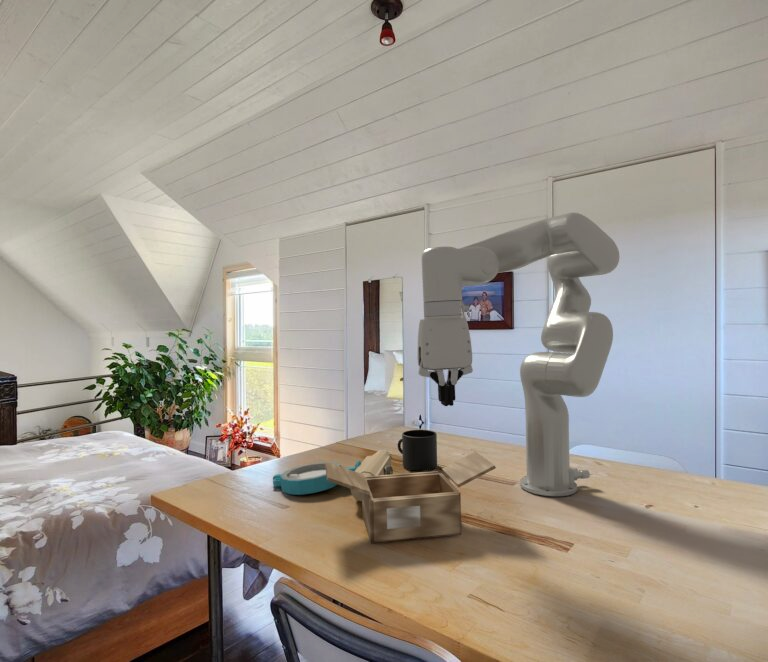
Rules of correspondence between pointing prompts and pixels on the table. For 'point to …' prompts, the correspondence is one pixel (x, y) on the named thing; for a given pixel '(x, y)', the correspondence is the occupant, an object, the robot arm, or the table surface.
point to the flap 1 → (346, 478)
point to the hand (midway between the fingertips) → (447, 404)
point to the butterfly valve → (315, 477)
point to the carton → (411, 507)
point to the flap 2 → (468, 469)
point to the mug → (419, 449)
